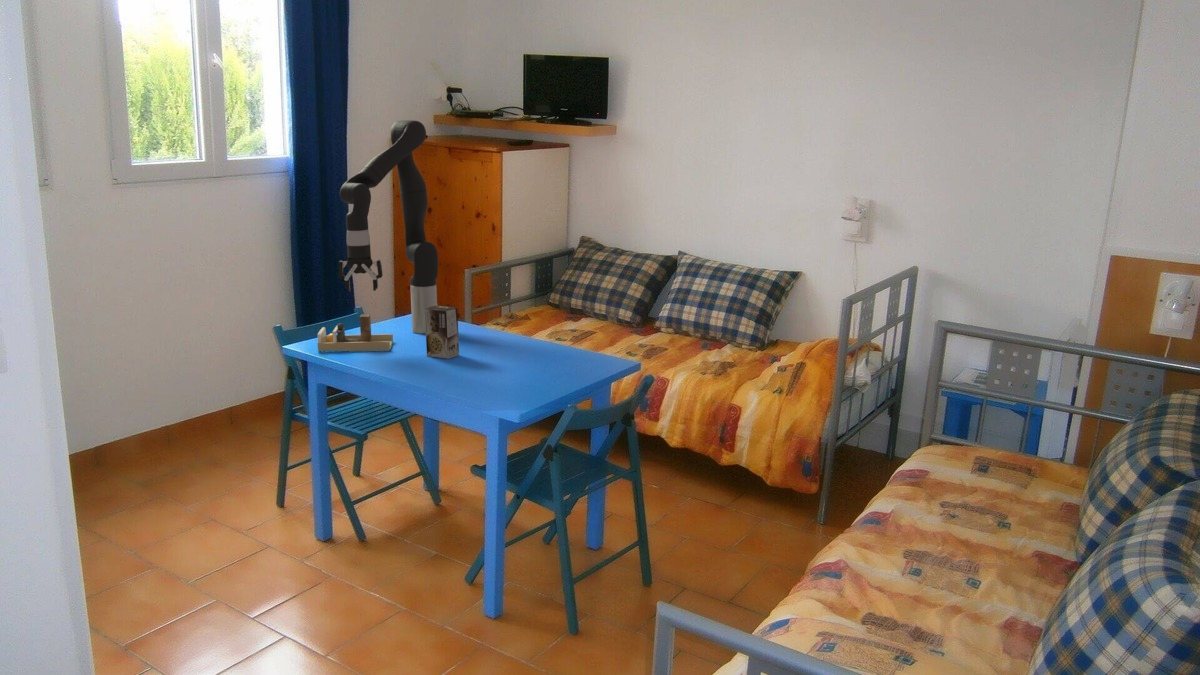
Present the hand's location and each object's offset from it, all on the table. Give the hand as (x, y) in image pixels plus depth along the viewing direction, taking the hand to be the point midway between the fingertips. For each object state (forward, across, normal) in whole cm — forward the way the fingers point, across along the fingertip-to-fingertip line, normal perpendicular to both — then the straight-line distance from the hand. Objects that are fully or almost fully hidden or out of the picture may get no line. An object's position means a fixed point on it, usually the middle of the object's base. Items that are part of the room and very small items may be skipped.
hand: (361, 290), depth 317 cm
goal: (+19, +12, +2) cm, 22 cm away
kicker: (+18, +3, +2) cm, 18 cm away
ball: (+16, +10, +2) cm, 19 cm away
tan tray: (+19, +3, +2) cm, 19 cm away
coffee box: (+20, -27, +17) cm, 37 cm away
